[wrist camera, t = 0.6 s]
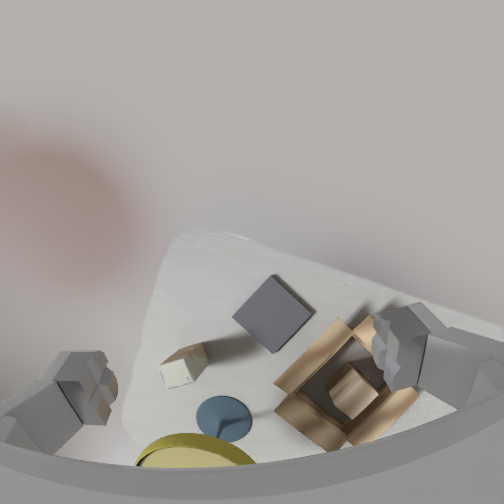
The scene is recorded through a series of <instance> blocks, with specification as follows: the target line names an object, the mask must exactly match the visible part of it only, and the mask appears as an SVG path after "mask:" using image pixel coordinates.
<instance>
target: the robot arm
mask: <svg viewBox="0 0 504 504" xmlns="http://www.w3.org/2000/svg"><path fill="white" fill-rule="evenodd" d="M373 328H374V329H375V331H376V334H375V335H374V336H373V338H372V355H373V359H374V361H375V364H376V366H377V367H378V368H379V369H381V370H383V371H384V375H383V378H384V380H385V382H386V383H387V385H388V387H389V389H390V391H391V392H395V391H398V390H402V389H405V388H409V387H412V386H416V385H418V387H420V388H421V389H423V390H425V391H427V392H428V393H430V394H432V395H433V396H435V397H437V398H439V399H440V400H442V401H444V402H445V403H447V404H449V405H451V406H452V407H454V408H456V409H458V410H457V411H455V412H453V413H450V414H448V415H445V416H443V417H441V418H438V419H436V420H433V421H431V422H428V423H425V424H423V425H420V426H417V427H415V428H412V429H409V430H406V431H403V432H400V433H397V434H394V435H391V436H388V437H384V438H381V439H378V440H374V441H371V442H367V443H364V444H360V445H356V446H352V447H348V448H344V449H340V450H335V451H331V452H326V453H322V454H317V455H311V456H306V457H300V458H294V459H288V460H282V461H274V462H267V463H258V464H249V465H238V466H224V467H201V468H161V467H140V466H126V465H115V464H105V463H98V462H90V461H83V460H77V459H71V458H65V457H60V456H55V455H54V454H55V453H56V452H57V451H58V450H59V449H60V448H61V447H62V446H63V445H64V444H65V443H66V442H67V441H68V440H69V439H70V438H71V437H72V436H73V435H74V434H75V433H76V432H77V431H78V430H80V429H81V428H82V427H83V424H85V425H106V423H107V421H108V418H109V415H110V413H111V408H110V406H109V405H110V404H112V403H113V402H114V401H115V400H116V397H117V395H118V384H117V379H116V377H115V375H114V373H113V372H112V371H111V370H110V369H108V368H107V364H108V360H107V358H106V356H105V354H104V353H103V352H102V351H100V350H97V351H95V350H94V351H92V350H91V351H62V352H60V353H59V354H58V355H57V357H56V358H55V360H54V361H53V362H52V364H51V365H50V367H49V368H48V369H47V371H46V372H45V374H44V375H43V377H42V378H41V380H36V381H34V382H33V383H31V384H29V385H28V386H26V387H25V388H23V389H21V390H20V391H18V392H17V393H15V394H13V395H12V396H10V397H8V398H7V399H5V400H3V401H2V402H0V504H504V343H503V342H500V341H497V340H493V339H490V338H487V337H483V336H480V335H477V334H474V333H470V332H467V331H464V330H460V329H457V328H454V327H449V328H447V327H446V326H445V325H444V324H443V323H442V322H441V321H440V320H439V319H438V318H437V317H436V316H435V315H434V314H433V313H432V312H431V311H430V310H429V309H428V308H427V307H426V306H425V305H424V304H423V303H420V302H417V303H414V304H410V305H407V306H404V307H401V308H397V309H393V310H389V311H385V312H381V313H377V314H374V318H373Z"/></svg>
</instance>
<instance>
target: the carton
mask: <svg viewBox="0 0 504 504" xmlns="http://www.w3.org/2000/svg"><path fill="white" fill-rule="evenodd" d="M375 334H376V331H375V329H374V328H373V318H372V317H371V316H370V315H369V316H367V317H366V318H365V319H364V320H363V321H362V322H361V323H360V324H359V325H358V326H356V327H355V328H354V329H353V330H351V329H350V328H349V327H348V326H347V325H346V324H345V323H344V322H343V321H342V320H341V319H340V318H337V319H336V320H335V321H334V322H333V323H332V324H331V325H330V326H329V327H328V328H327V329H326V331H325V332H324V333H323V334H322V335H321V336H320V337H319V338H318V339H317V340H316V341H315V342H314V343H313V344H312V345H311V346H310V347H309V348H308V349H307V350H306V351H305V352H304V353H303V354H302V355H301V356H300V357H299V358H298V359H297V360H296V361H295V362H294V363H293V364H292V365H291V366H290V367H289V368H288V369H287V370H286V371H285V372H284V373H283V374H282V375H281V376H280V377H279V378H278V379H277V380H276V381H275V382H274V384H275V385H276V386H278V387H279V388H281V389H282V390H284V391H285V392H287V393H288V394H289V395H288V396H287V397H286V398H285V399H284V400H283V401H282V402H281V404H280V405H279V406H278V407H277V408H276V409H275V410H274V412H276V413H277V414H278V415H279V416H281V417H282V418H283V419H284V420H286V421H287V422H288V423H289V424H291V425H292V426H293V427H295V428H296V429H297V430H299V431H300V432H301V433H302V434H304V435H305V436H306V437H308V438H309V439H310V440H312V441H313V442H314V443H316V444H317V445H319V446H320V447H321V448H323V449H324V450H325V451H327V452H331V451H335V450H339V449H340V448H341V447H342V446H343V444H344V443H345V442H346V441H348V442H350V443H351V444H352V445H353V446H356V445H360V444H364V443H367V442H371V441H374V440H376V439H377V438H378V437H379V436H380V435H381V434H382V433H383V432H384V431H385V430H386V429H388V428H389V427H390V426H391V425H392V424H393V423H394V422H395V421H396V420H397V419H398V418H399V417H400V416H401V415H402V414H403V413H404V412H405V411H406V410H407V409H408V407H409V406H410V405H411V404H412V403H413V402H414V401H415V400H416V399H417V398H418V397H419V396H420V394H418V393H417V392H416V391H415V390H414V389H413V388H412V387H409V388H405V389H402V390H398V391H395V392H391V391H390V389H389V387H388V385H387V383H386V382H385V383H384V384H383V385H382V386H381V387H380V389H379V390H378V391H377V393H378V394H379V395H378V396H377V397H376V398H375V399H374V400H373V401H372V402H371V403H370V404H369V405H368V406H367V407H366V408H365V409H364V410H362V411H361V412H360V413H359V414H358V415H357V416H356V417H355V418H354V419H353V420H352V419H351V418H349V419H348V420H347V421H346V422H345V423H343V424H341V423H340V422H338V421H337V420H336V419H335V418H333V417H332V416H331V415H330V414H328V413H327V412H326V411H325V410H323V409H322V408H321V407H320V406H318V405H317V404H316V403H315V402H314V401H312V400H311V399H310V398H309V397H308V396H306V395H305V394H304V393H303V392H302V391H300V390H299V389H300V388H301V387H302V386H303V385H304V384H305V383H306V382H307V381H308V380H309V379H310V378H311V377H312V376H313V375H314V374H315V373H316V372H317V371H318V370H319V369H320V368H321V367H322V366H323V365H324V364H325V363H326V362H327V361H328V360H329V359H330V358H331V357H332V356H333V355H334V354H335V353H336V352H337V351H338V350H339V349H340V348H341V347H342V346H343V345H344V344H345V343H346V342H347V341H348V339H349V338H350V337H351V336H352V337H354V338H355V339H356V340H357V341H358V342H359V343H360V344H361V345H362V346H363V347H364V348H365V349H366V350H367V351H368V352H369V353H371V354H372V338H373V336H374V335H375Z"/></svg>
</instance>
